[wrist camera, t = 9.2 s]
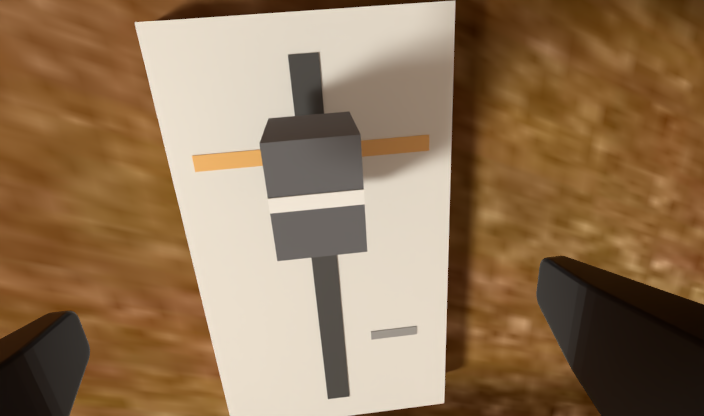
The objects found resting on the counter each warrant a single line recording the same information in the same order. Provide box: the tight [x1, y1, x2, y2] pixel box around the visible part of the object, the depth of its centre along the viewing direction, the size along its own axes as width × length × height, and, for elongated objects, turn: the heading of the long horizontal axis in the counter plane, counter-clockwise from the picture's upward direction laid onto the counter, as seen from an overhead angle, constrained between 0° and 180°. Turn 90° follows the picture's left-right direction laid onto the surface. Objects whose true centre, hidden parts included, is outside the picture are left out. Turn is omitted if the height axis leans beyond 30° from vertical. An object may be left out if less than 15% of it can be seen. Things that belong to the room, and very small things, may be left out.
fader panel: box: [135, 1, 455, 416], centre depth 21 cm, size 12×21×2 cm, turn 4°
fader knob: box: [259, 112, 367, 261], centre depth 16 cm, size 3×4×5 cm
